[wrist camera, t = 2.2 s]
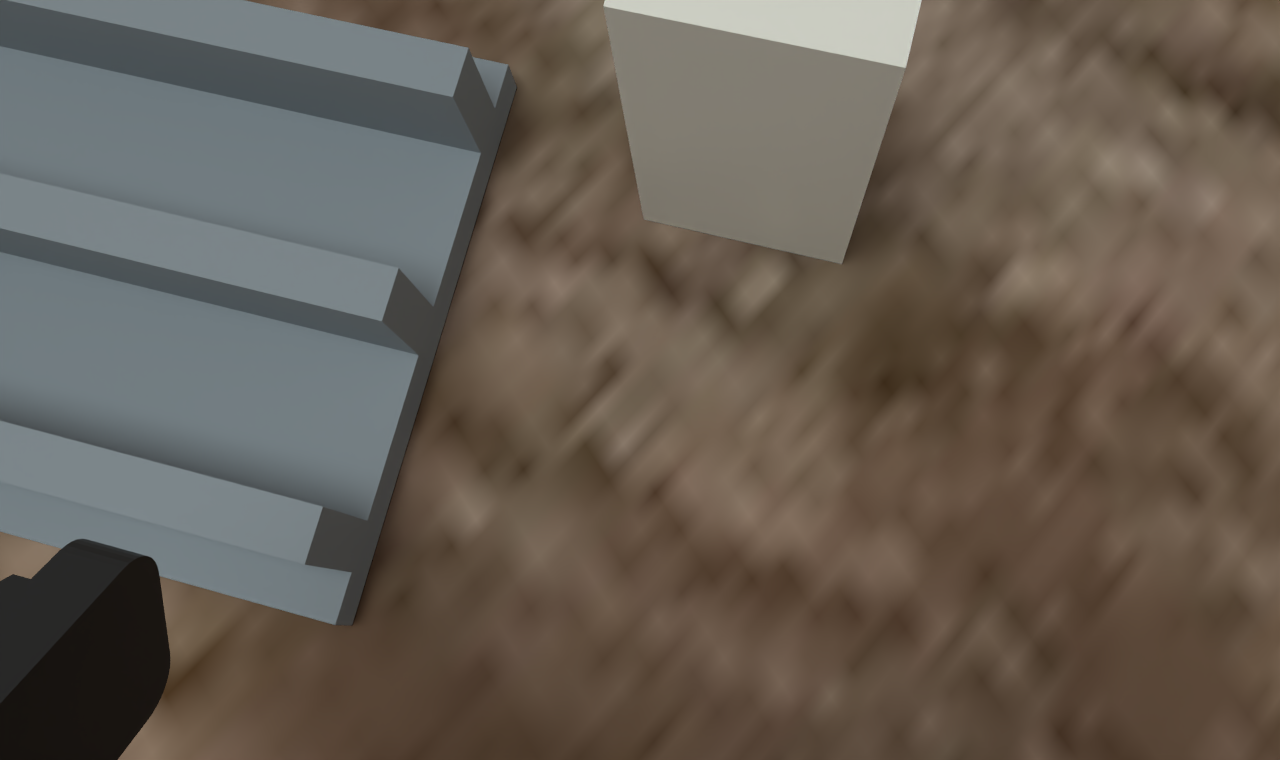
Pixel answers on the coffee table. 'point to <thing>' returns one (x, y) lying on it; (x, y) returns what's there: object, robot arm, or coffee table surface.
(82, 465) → the ribbed grey platform
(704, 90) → the off-white rectangular block
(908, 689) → the coffee table surface
